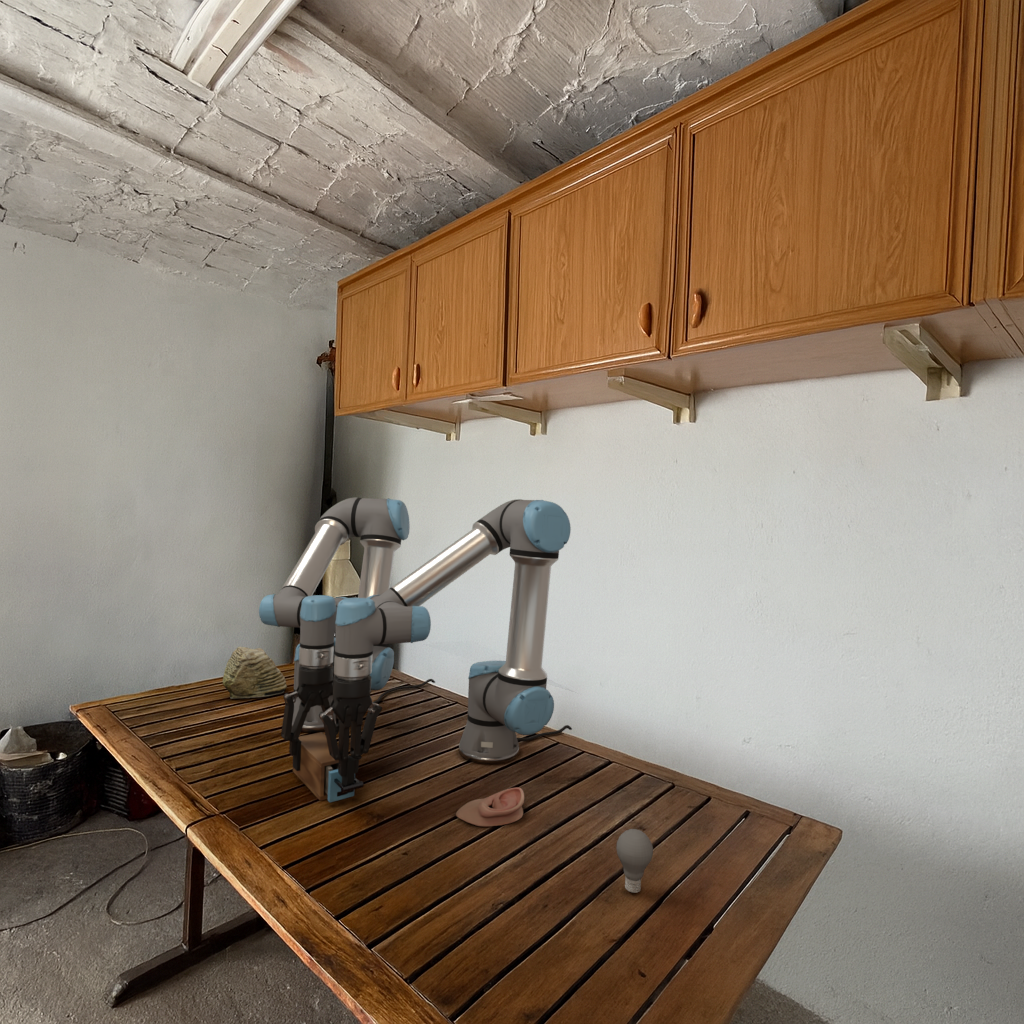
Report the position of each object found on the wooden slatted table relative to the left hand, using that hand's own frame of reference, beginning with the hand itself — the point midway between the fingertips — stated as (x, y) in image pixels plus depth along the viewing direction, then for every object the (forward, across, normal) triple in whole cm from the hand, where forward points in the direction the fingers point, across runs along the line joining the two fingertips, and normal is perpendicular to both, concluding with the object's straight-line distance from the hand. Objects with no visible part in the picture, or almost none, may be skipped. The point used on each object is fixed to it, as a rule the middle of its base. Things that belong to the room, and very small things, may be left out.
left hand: (312, 764), depth 144 cm
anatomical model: (+2, +23, -37) cm, 44 cm away
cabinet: (+2, 0, -5) cm, 5 cm away
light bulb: (+2, +28, -71) cm, 76 cm away
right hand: (-2, 0, -19) cm, 19 cm away
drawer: (+1, 0, -12) cm, 12 cm away
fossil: (+2, +6, +64) cm, 64 cm away
